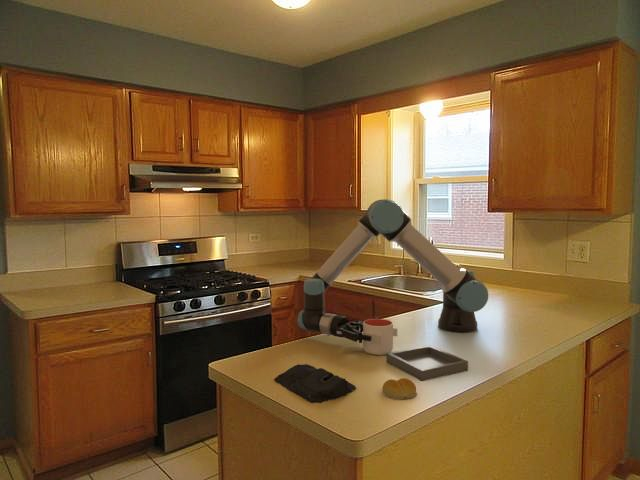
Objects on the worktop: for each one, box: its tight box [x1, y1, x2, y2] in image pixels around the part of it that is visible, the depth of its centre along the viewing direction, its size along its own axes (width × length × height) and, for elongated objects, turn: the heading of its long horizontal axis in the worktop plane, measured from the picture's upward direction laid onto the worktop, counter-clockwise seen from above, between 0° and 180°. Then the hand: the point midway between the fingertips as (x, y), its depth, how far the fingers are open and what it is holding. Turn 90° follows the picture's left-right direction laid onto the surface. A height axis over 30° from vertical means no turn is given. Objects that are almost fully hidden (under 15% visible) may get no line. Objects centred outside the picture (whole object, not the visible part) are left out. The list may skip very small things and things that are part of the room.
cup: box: [362, 318, 394, 356], centre depth 161 cm, size 10×10×10 cm
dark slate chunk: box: [273, 363, 357, 404], centre depth 132 cm, size 15×22×5 cm
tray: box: [385, 344, 469, 382], centre depth 146 cm, size 17×17×3 cm
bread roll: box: [381, 377, 418, 401], centre depth 126 cm, size 8×9×4 cm
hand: (389, 336), depth 158 cm, fingers closed on cup, 10 cm apart
